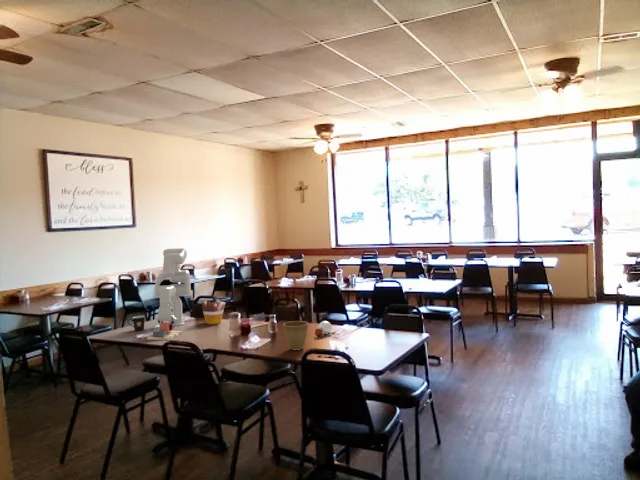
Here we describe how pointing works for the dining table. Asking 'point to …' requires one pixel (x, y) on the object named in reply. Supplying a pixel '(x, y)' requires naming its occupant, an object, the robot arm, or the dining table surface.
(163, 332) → the coupler nose
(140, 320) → the coffee mug
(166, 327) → the block
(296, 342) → the plant pot
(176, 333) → the slatted wooden trivet
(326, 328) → the potion bottle
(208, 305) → the bucket of meat
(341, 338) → the dining table surface
